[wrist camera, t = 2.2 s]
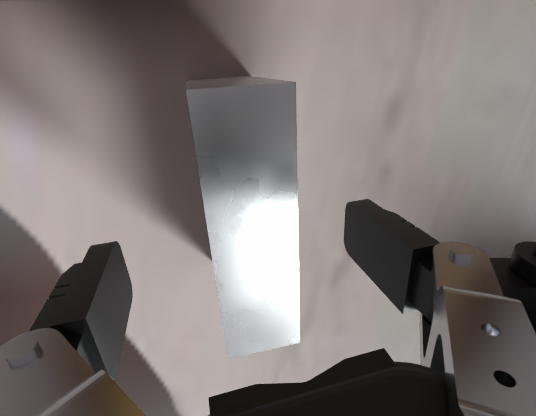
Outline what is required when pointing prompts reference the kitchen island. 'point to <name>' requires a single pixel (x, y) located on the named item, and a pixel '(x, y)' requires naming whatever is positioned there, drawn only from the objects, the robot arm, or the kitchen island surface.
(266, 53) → the kitchen island surface
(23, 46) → the kitchen island surface
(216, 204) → the panel
